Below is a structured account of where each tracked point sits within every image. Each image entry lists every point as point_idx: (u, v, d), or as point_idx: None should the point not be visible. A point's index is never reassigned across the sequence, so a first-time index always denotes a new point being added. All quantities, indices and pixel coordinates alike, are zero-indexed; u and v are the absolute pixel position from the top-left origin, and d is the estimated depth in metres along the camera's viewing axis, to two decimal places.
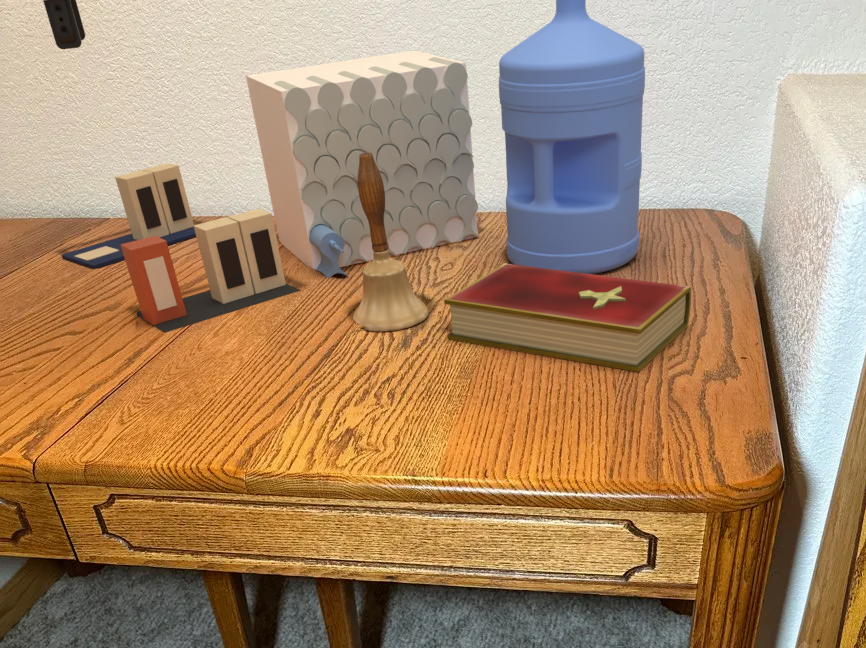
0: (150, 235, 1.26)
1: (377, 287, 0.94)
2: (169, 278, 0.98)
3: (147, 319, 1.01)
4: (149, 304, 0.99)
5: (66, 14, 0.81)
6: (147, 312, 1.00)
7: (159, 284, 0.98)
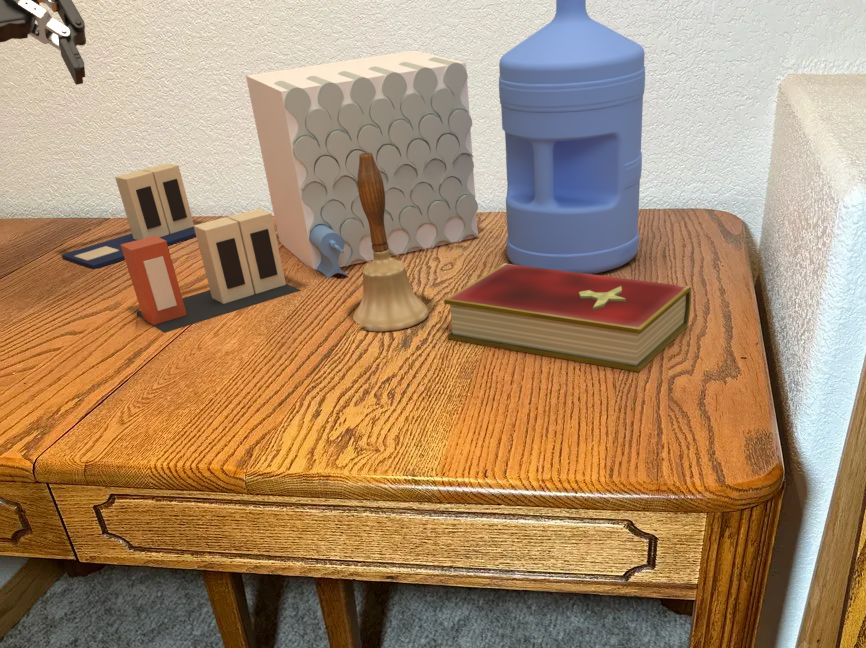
0: (150, 235, 1.26)
1: (377, 287, 0.94)
2: (169, 278, 0.98)
3: (147, 319, 1.01)
4: (149, 304, 0.99)
5: None
6: (147, 312, 1.00)
7: (159, 284, 0.98)
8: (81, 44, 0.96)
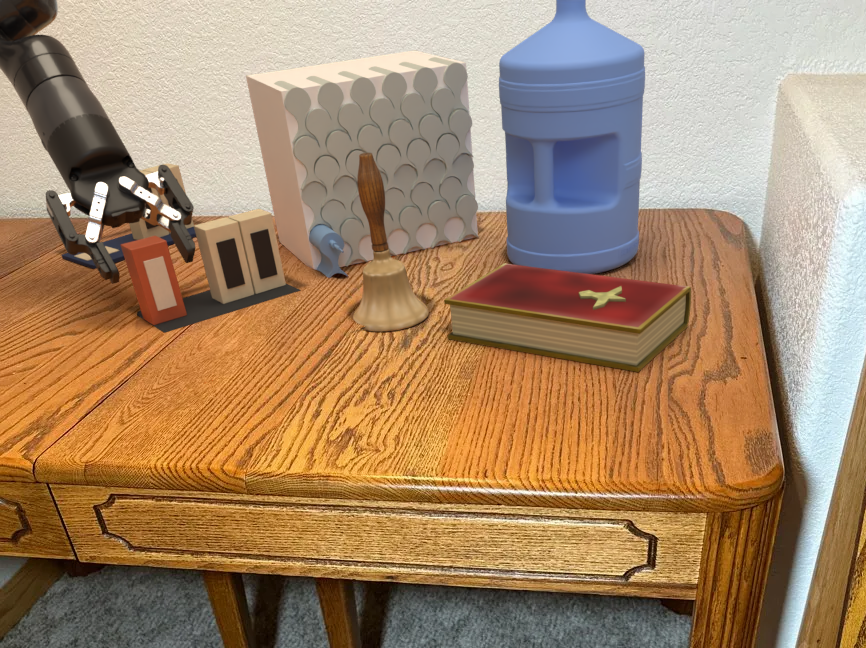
0: (150, 235, 1.26)
1: (377, 287, 0.94)
2: (169, 278, 0.98)
3: (147, 319, 1.01)
4: (149, 304, 0.99)
5: None
6: (147, 312, 1.00)
7: (159, 284, 0.98)
8: (188, 223, 1.02)
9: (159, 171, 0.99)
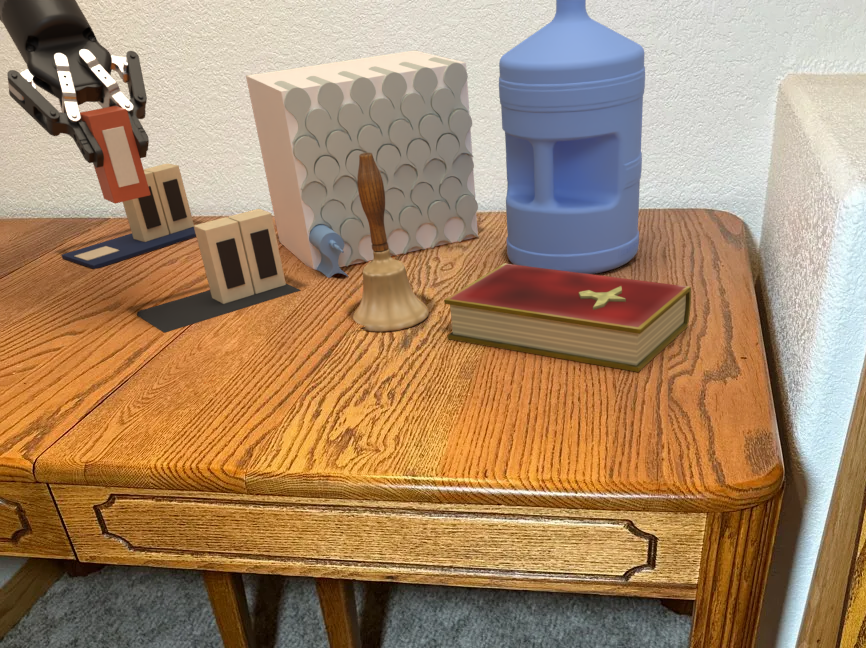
0: (150, 235, 1.26)
1: (377, 287, 0.94)
2: (130, 151, 0.92)
3: (108, 198, 0.95)
4: (109, 179, 0.92)
5: None
6: (107, 189, 0.93)
7: (119, 157, 0.92)
8: (139, 117, 0.95)
9: (126, 56, 0.93)
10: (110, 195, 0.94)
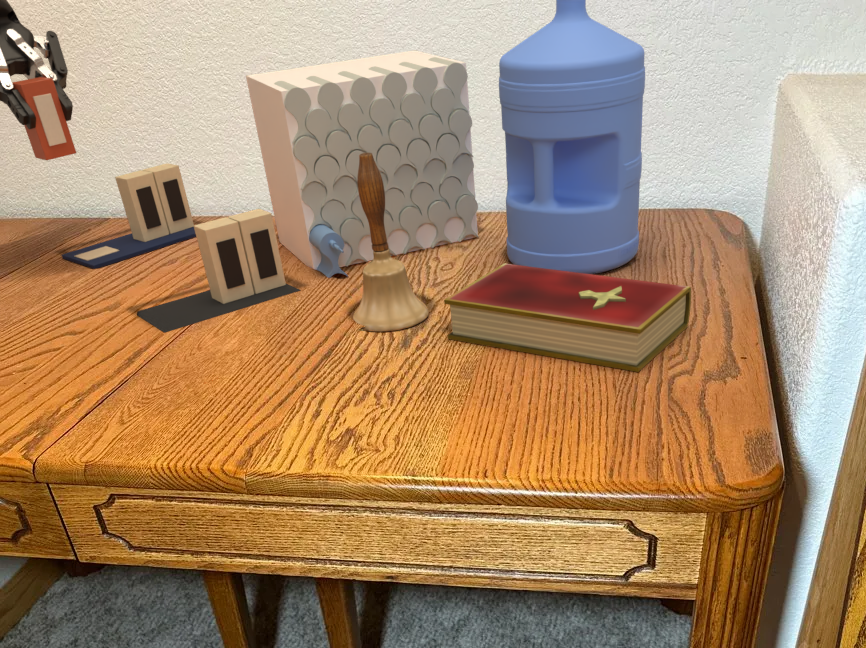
0: (150, 235, 1.26)
1: (377, 287, 0.94)
2: (57, 114, 1.09)
3: (39, 156, 1.11)
4: (41, 139, 1.09)
5: None
6: (39, 148, 1.10)
7: (49, 120, 1.08)
8: (61, 87, 1.11)
9: (46, 35, 1.10)
10: (42, 153, 1.10)
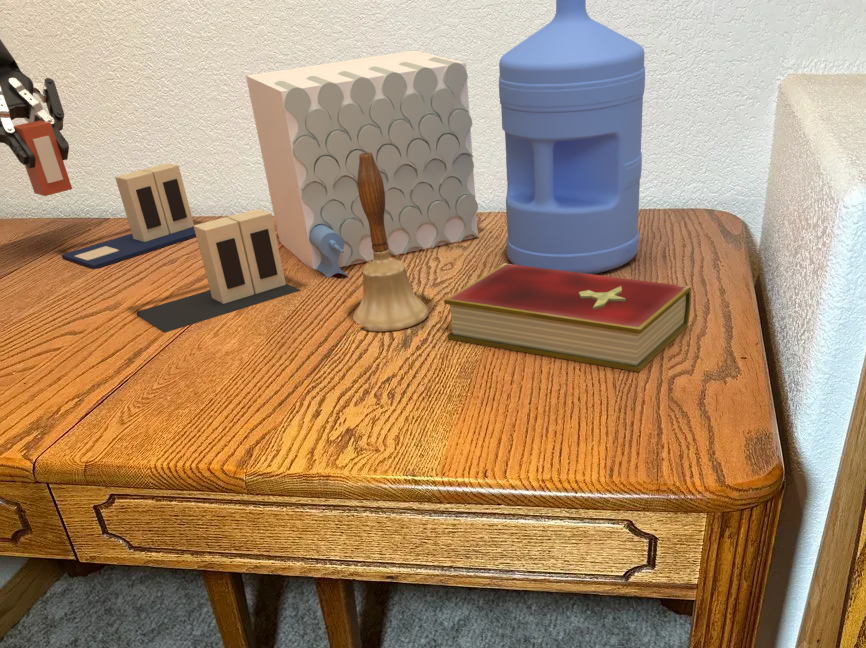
0: (150, 235, 1.26)
1: (377, 287, 0.94)
2: (55, 154, 1.19)
3: (38, 192, 1.21)
4: (40, 177, 1.19)
5: None
6: (38, 185, 1.20)
7: (47, 160, 1.19)
8: (58, 129, 1.21)
9: (45, 82, 1.20)
10: (41, 189, 1.20)
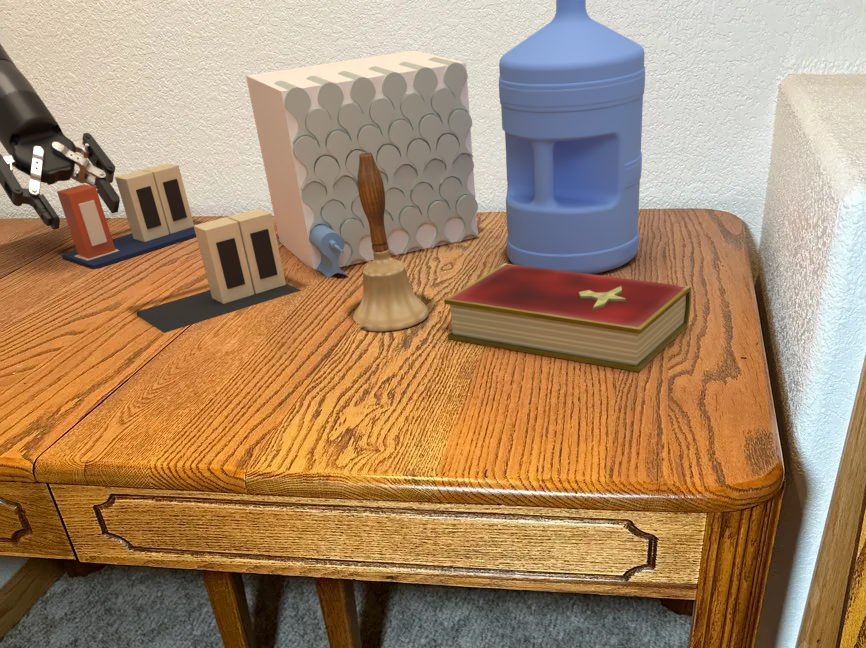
0: (150, 235, 1.26)
1: (377, 287, 0.94)
2: (99, 218, 1.20)
3: (82, 254, 1.22)
4: (85, 241, 1.20)
5: None
6: (83, 248, 1.21)
7: (92, 223, 1.19)
8: (110, 182, 1.23)
9: (84, 138, 1.21)
10: (85, 252, 1.21)
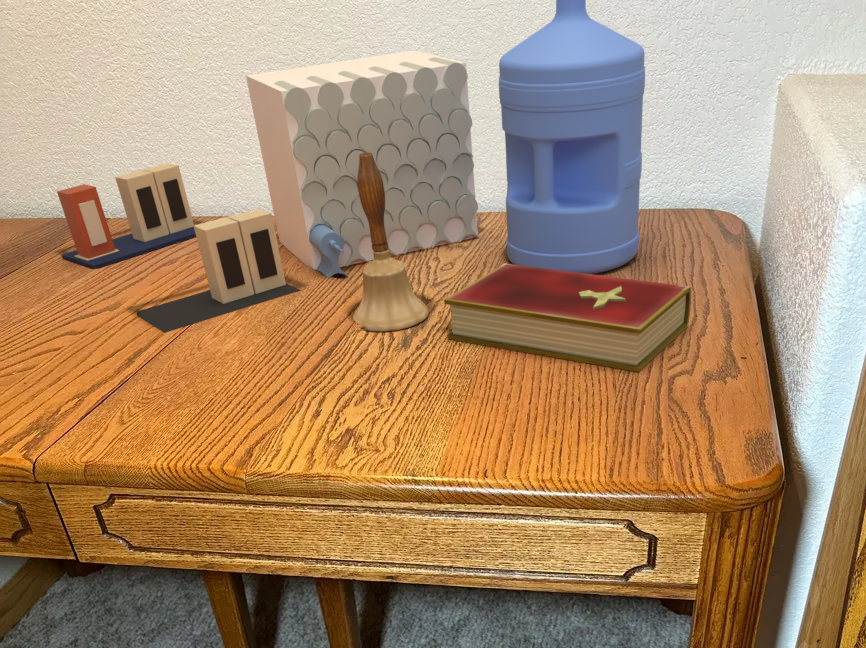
0: (150, 235, 1.26)
1: (377, 287, 0.94)
2: (99, 218, 1.20)
3: (82, 254, 1.22)
4: (85, 241, 1.20)
5: None
6: (83, 248, 1.21)
7: (92, 223, 1.19)
8: None
9: None
10: (85, 252, 1.21)
